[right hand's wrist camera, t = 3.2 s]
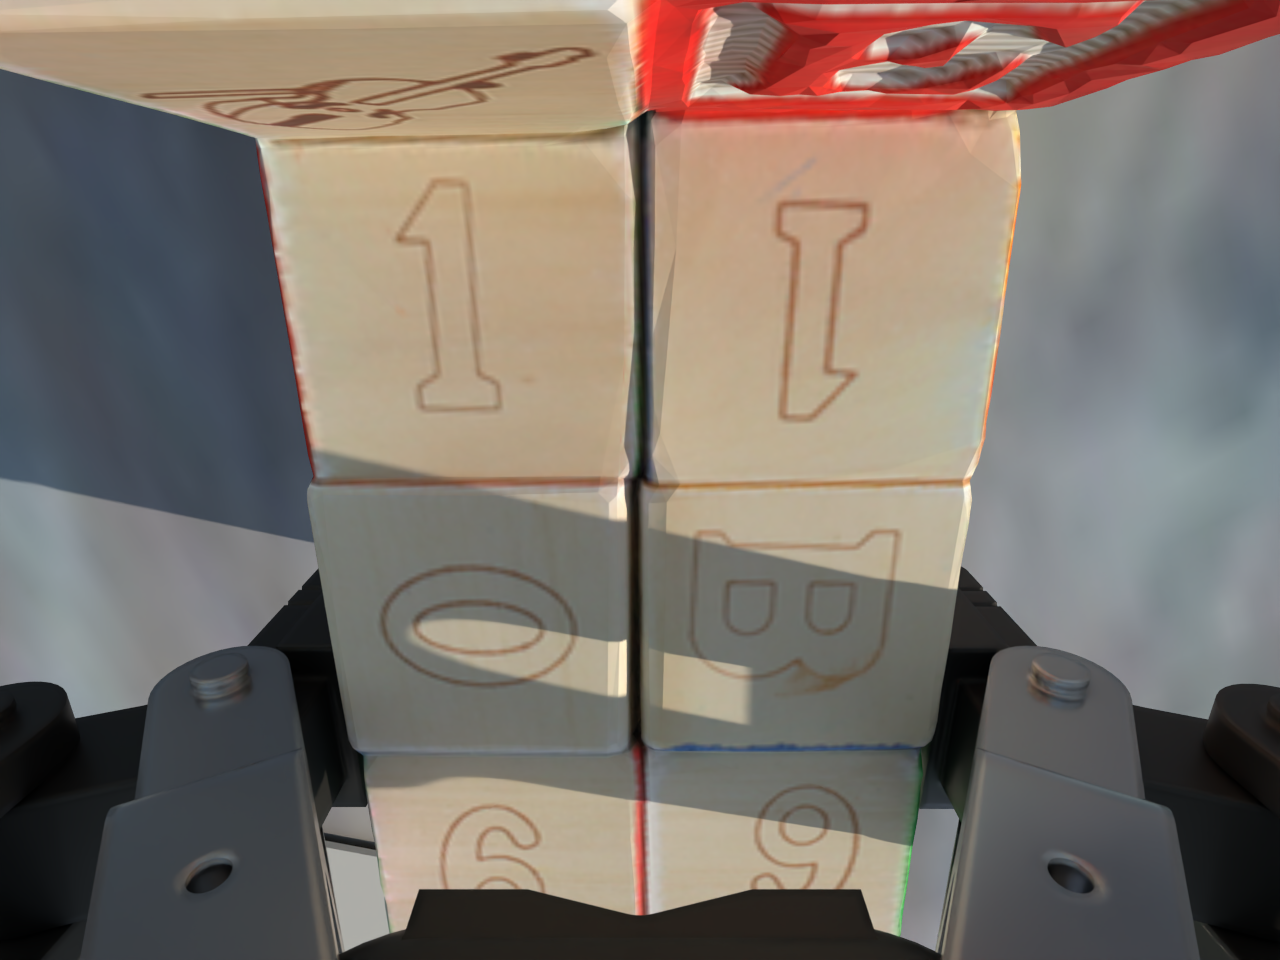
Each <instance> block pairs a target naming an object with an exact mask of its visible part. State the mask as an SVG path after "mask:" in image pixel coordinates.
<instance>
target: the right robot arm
mask: <svg viewBox="0 0 1280 960" xmlns="http://www.w3.org/2000/svg"><path fill="white" fill-rule="evenodd" d="M921 757H922V768H923V777H922V782H921V788H920V802H919V809H954V810H955V812H956V813H957V815H958V817H959V823H958V828H957V833H956V838H955V843H954V848H953V854H952V860H951V865H950V871H949V876H948V882H947V888H946V893H945V899H944V904H943V910H942V916H941V921H940V927H939V933H938V938H937V944H936V949H935V951H933V950H931V949H929V948H927V947H924V946H922V945H920V944H918V943H916V942H913V941H910V940H907V939H904V938H902V937H899V936H896V935H893V934H890V933H887V932H883V931H880V930H876V929H874V927H873V924H872V921H871V918H870V915H869V912H868V909H867V906H866V903H865V900H864V897H863V894H862V891H861V889H751V890H747V891H743V892H739V893H735V894H731V895H727V896H723V897H719V898H715V899H711V900H707V901H702V902H698V903H694V904H690V905H686V906H682V907H678V908H674V909H670V910H666V911H662V912H658V913H654V914H648V915H632V914H626V913H622V912H618V911H614V910H610V909H606V908H602V907H598V906H594V905H590V904H586V903H582V902H578V901H573V900H569V899H565V898H561V897H557V896H553V895H549V894H545V893H541V892H537V891H533V890H529V889H419V891H418V894H417V897H416V900H415V903H414V906H413V909H412V912H411V915H410V918H409V921H408V924H407V927H406V929H404V930H401V931H397V932H393V933H390V934H387V935H384V936H381V937H378V938H376V939H373V940H370V941H367V942H364V943H362V944H360V945H358V946H356V947H353V948H351V949H349V950H347V951H345V949H344V944H343V938H342V933H341V927H340V921H339V916H338V910H337V905H336V899H335V893H334V888H333V882H332V876H331V871H330V865H329V860H328V854H327V848H326V843H325V838H324V833H323V828H322V824H323V823H324V821H325V819H326V817H327V815H328V813H329V811H330V809H331V807H366V806H367V803H368V802H367V796H366V787H365V778H364V757H363V755H362V754H361V753H359V752H358V751H356V750H355V749H354V748H353V747H352V745H351V743H350V741H349V739H348V734H347V728H346V722H345V717H344V711H343V705H342V700H341V694H340V688H339V683H338V677H337V671H336V666H335V660H334V654H333V649H332V643H331V637H330V632H329V626H328V620H327V614H326V608H325V603H324V597H323V591H322V585H321V579H320V574H319V568H318V569H317V571H316V572H315V573H314V574H313V575H312V576H311V577H310V578H309V579H308V580H307V581H306V583H305V584H304V585H303V586H302V590H298V591H297V592H296V593H295V595H294V596H293V597H292V598H291V599H290V600H289V601H288V605H284V607H283V608H282V609H281V610H280V611H279V612H278V613H277V614H276V615H275V616H274V617H273V619H272V620H271V621H270V622H269V623H268V624H267V625H266V626H265V627H264V628H263V629H262V631H261V632H260V633H259V634H258V635H257V636H256V637H255V638H254V639H253V640H252V641H251V643H250V644H249V645H248V646H241V647H233V648H228V649H223V650H219V651H215V652H212V653H209V654H206V655H203V656H200V657H198V658H195V659H193V660H191V661H189V662H187V663H185V664H183V665H181V666H179V667H177V668H176V669H174V670H173V671H171V672H170V673H168V674H167V675H166V676H165V677H164V678H162V679H161V680H160V681H159V682H158V683H157V684H156V685H155V687H154V688H153V690H152V691H151V693H150V696H149V699H148V705H144V706H139V707H134V708H128V709H123V710H118V711H112V712H107V713H102V714H96V715H91V716H86V717H81V718H75V717H74V714H73V711H72V708H71V705H70V702H69V699H68V696H67V693H66V692H65V690H64V689H63V688H62V687H60V686H58V685H56V684H53V683H47V682H23V683H15V684H10V685H4V686H0V960H1280V688H1279V687H1273V686H1267V685H1259V684H1236V685H1231V686H1227V687H1225V688H1223V689H1221V690H1220V691H1219V692H1218V694H1217V695H1216V698H1215V701H1214V704H1213V707H1212V710H1211V713H1210V716H1209V719H1208V720H1207V719H1202V718H1197V717H1191V716H1186V715H1181V714H1176V713H1170V712H1165V711H1160V710H1154V709H1149V708H1144V707H1140V706H1135V705H1132V699H1131V696H1130V693H1129V691H1128V690H1127V688H1126V687H1125V685H1124V684H1123V683H1122V682H1121V681H1120V680H1119V679H1118V678H1116V677H1115V676H1114V675H1113V674H1112V673H1110V672H1109V671H1107V670H1106V669H1104V668H1103V667H1101V666H1099V665H1097V664H1095V663H1093V662H1091V661H1089V660H1087V659H1085V658H1082V657H1080V656H1077V655H1074V654H1071V653H1068V652H1065V651H1061V650H1057V649H1052V648H1047V647H1039V646H1037V645H1036V644H1035V643H1034V642H1033V641H1032V640H1031V639H1030V638H1029V637H1028V636H1027V635H1026V633H1025V632H1024V631H1023V630H1022V629H1021V628H1020V627H1019V626H1018V625H1017V624H1016V623H1015V622H1014V621H1013V619H1012V618H1011V617H1010V616H1009V615H1008V614H1007V613H1006V612H1005V611H1004V610H1003V609H1002V608H1001V606H997V602H996V601H995V600H994V599H993V598H992V597H991V596H990V595H989V594H988V592H987V591H983V587H982V586H981V585H980V584H979V583H978V582H977V581H976V580H975V578H974V577H973V576H972V575H971V574H970V573H969V572H968V571H967V570H966V569H965V568H963V567H961V568H960V575H959V582H958V589H957V596H956V603H955V610H954V617H953V624H952V631H951V638H950V644H949V649H948V655H947V661H946V666H945V672H944V677H943V683H942V689H941V696H940V704H939V712H938V719H937V724H936V728H935V732H934V735H933V738H932V741H930V742H929V743H928V744H927V745H926V746H924V747H921Z"/></svg>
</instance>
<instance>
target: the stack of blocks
mask: <svg viewBox="0 0 1280 960" xmlns="http://www.w3.org/2000/svg"><path fill="white" fill-rule="evenodd" d="M1277 34H1280V0H0V69H3V70H7V71H11V72H14V73H18V74H22V75H25V76H29V77H33V78H36V79H40V80H44V81H47V82H51V83H55V84H59V85H63V86H66V87H70V88H74V89H78V90H82V91H86V92H90V93H93V94H97V95H101V96H105V97H109V98H113V99H116V100H120V101H124V102H128V103H132V104H136V105H139V106H143V107H147V108H151V109H155V110H159V111H163V112H166V113H170V114H174V115H177V116H181V117H184V118H188V119H191V120H195V121H199V122H202V123H206V124H209V125H213V126H216V127H220V128H224V129H227V130H231V131H234V132H237V133H241V134H244V135H248V136H251V137H254V138H255V140H256V148H257V156H258V163H259V170H260V177H261V183H262V188H263V194H264V199H265V204H266V210H267V216H268V222H269V227H270V233H271V239H272V245H273V251H274V257H275V263H276V268H277V274H278V280H279V286H280V292H281V297H282V303H283V309H284V315H285V320H286V326H287V332H288V338H289V344H290V349H291V355H292V361H293V367H294V373H295V379H296V385H297V391H298V398H299V404H300V410H301V416H302V422H303V428H304V434H305V439H306V445H307V451H308V456H309V460H310V464H311V468H312V471H313V475H314V476H313V478H312V481H311V483H310V485H309V487H308V489H307V504H308V509H309V515H310V521H311V527H312V533H313V539H314V544H315V550H316V556H317V562H318V568H319V574H320V579H321V585H322V591H323V597H324V603H325V608H326V614H327V620H328V626H329V632H330V637H331V643H332V649H333V654H334V660H335V666H336V671H337V677H338V683H339V688H340V694H341V700H342V705H343V711H344V717H345V722H346V728H347V734H348V739H349V741H350V743H351V745H352V747H353V748H354V749H355V750H356V751H358V752H359V753H361V754H362V755H363V757H364V778H365V787H366V796H367V802H368V808H369V814H370V821H371V827H372V832H373V836H374V841H375V846H376V853H377V861H378V868H379V876H380V884H381V888H382V891H383V894H384V900H385V910H386V916H387V922H388V927H389V933H393V932H397V931H401V930H404V929H406V927H407V924H408V921H409V918H410V915H411V912H412V909H413V906H414V903H415V900H416V897H417V894H418V891H419V889H529V890H533V891H537V892H541V893H545V894H549V895H553V896H557V897H561V898H565V899H569V900H573V901H578V902H582V903H586V904H590V905H594V906H598V907H602V908H606V909H610V910H614V911H618V912H622V913H626V914H632V915H648V914H654V913H658V912H662V911H666V910H670V909H674V908H678V907H682V906H686V905H690V904H694V903H698V902H702V901H707V900H711V899H715V898H719V897H723V896H727V895H731V894H735V893H739V892H743V891H747V890H751V889H861V891H862V894H863V897H864V900H865V903H866V906H867V909H868V912H869V915H870V918H871V921H872V924H873V927H874V929H876V930H880V931H883V932H887V933H890V934H893V935H896V936H899V937H900V935H901V924H902V914H903V908H904V901H905V895H906V888H907V882H908V874H909V867H910V860H911V852H912V846H913V840H914V835H915V830H916V824H917V818H918V810H919V802H920V788H921V782H922V777H923V768H922V757H921V747H924V746H926V745H927V744H928V743H929V742H930V741H932V738H933V735H934V732H935V728H936V724H937V719H938V712H939V704H940V696H941V689H942V683H943V677H944V672H945V666H946V661H947V655H948V649H949V644H950V638H951V631H952V624H953V617H954V610H955V603H956V596H957V589H958V582H959V575H960V568H961V561H962V556H963V550H964V545H965V540H966V535H967V529H968V524H969V516H970V508H971V500H972V498H971V489H970V479H971V477H972V474H973V472H974V470H975V468H976V466H977V464H978V461H979V457H980V453H981V449H982V446H983V443H984V440H985V432H986V420H987V414H988V409H989V403H990V398H991V392H992V385H993V379H994V372H995V366H996V359H997V353H998V346H999V340H1000V332H1001V324H1002V316H1003V308H1004V300H1005V292H1006V285H1007V278H1008V271H1009V264H1010V257H1011V249H1012V242H1013V235H1014V229H1015V222H1016V215H1017V209H1018V202H1019V195H1020V188H1021V164H1020V131H1019V125H1018V120H1017V114H1016V110H1023V109H1033V108H1042V107H1050V106H1054V105H1057V104H1060V103H1063V102H1066V101H1069V100H1073V99H1076V98H1079V97H1082V96H1085V95H1088V94H1091V93H1094V92H1097V91H1100V90H1103V89H1106V88H1108V87H1111V86H1113V85H1116V84H1118V83H1120V82H1123V81H1125V80H1128V79H1131V78H1135V77H1139V76H1142V75H1146V74H1149V73H1153V72H1157V71H1160V70H1164V69H1167V68H1170V67H1172V66H1175V65H1178V64H1181V63H1184V62H1187V61H1190V60H1194V59H1199V58H1204V57H1210V56H1215V55H1220V54H1223V53H1225V52H1228V51H1231V50H1234V49H1237V48H1239V47H1242V46H1245V45H1248V44H1251V43H1253V42H1256V41H1259V40H1262V39H1265V38H1267V37H1270V36H1274V35H1277Z"/></svg>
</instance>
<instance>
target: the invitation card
mask: <svg viewBox="0 0 1280 960" xmlns="http://www.w3.org/2000/svg"><path fill="white" fill-rule="evenodd" d="M325 843H326V848H327V854H328V860H329V865H330V871H331V876H332V882H333V888H334V893H335V899H336V905H337V910H338V916H339V921H340V927H341V933H342V938H343V944H344V949H345V951H347V950H349V949H351V948H353V947H356V946H358V945H360V944H362V943H364V942H367V941H370V940H373V939H376V938H378V937H381V936H384V935H387V934H390V933H389V927H388V922H387V916H386V910H385V900H384V894H383V891H382V888H381V884H380V876H379V868H378V861H377V853H376V850H372V849H367V848H362V847H357V846H351V845H346V844H341V843H335V842H330V841H325Z"/></svg>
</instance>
